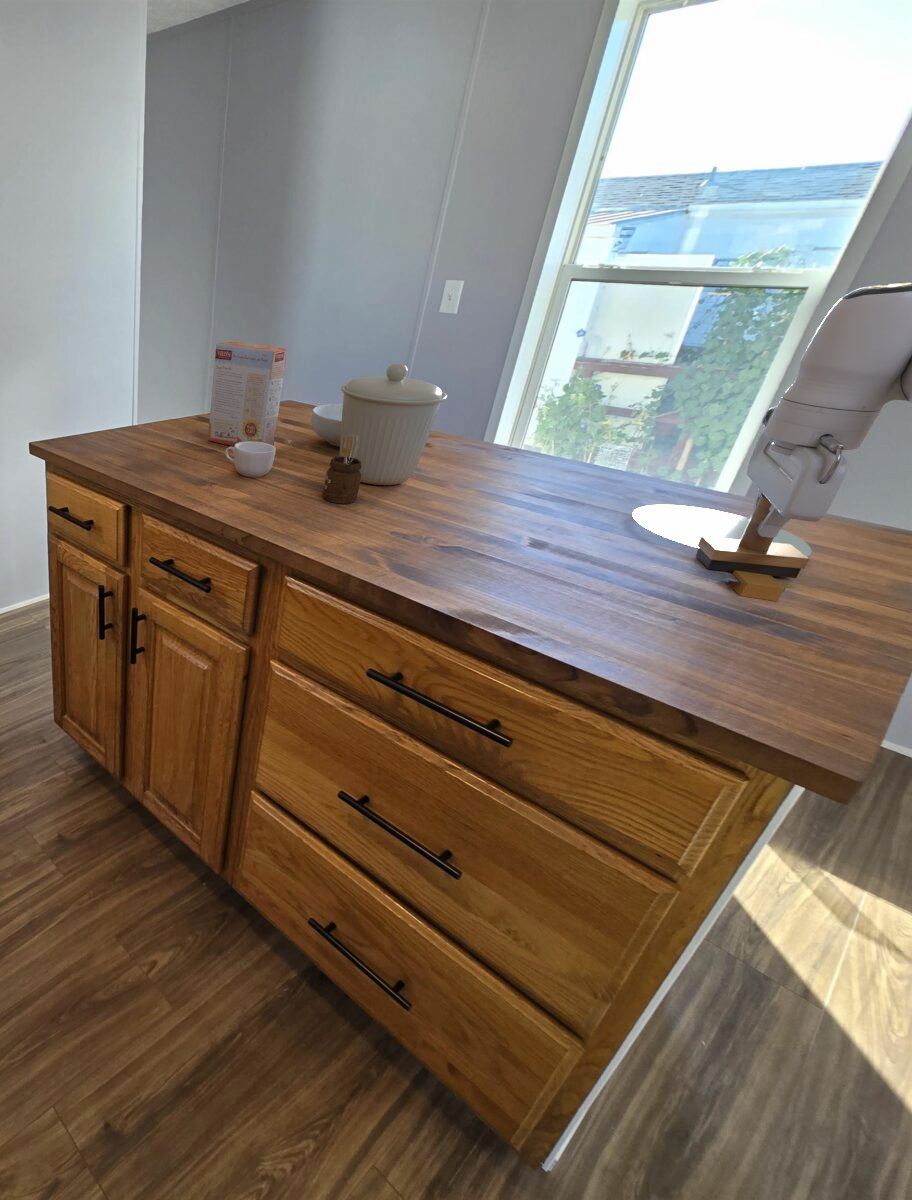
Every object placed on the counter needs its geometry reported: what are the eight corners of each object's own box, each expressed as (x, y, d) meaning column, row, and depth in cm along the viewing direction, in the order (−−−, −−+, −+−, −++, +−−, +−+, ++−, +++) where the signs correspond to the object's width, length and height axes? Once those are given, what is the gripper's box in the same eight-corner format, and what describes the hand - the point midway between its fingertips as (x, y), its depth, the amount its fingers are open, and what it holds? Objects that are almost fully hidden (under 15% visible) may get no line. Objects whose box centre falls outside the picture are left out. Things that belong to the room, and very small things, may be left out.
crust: (763, 588, 89) (770, 575, 88) (777, 601, 86) (785, 588, 85) (727, 583, 90) (734, 570, 89) (739, 596, 87) (747, 582, 86)
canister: (337, 457, 138) (357, 352, 127) (429, 472, 130) (458, 361, 120) (315, 482, 124) (335, 366, 114) (416, 500, 116) (448, 377, 106)
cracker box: (274, 448, 143) (289, 347, 133) (259, 454, 139) (273, 350, 129) (222, 436, 151) (231, 339, 141) (206, 441, 147) (215, 342, 137)
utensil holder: (359, 496, 117) (373, 430, 112) (352, 507, 113) (367, 438, 107) (325, 490, 120) (337, 425, 114) (318, 501, 115) (330, 433, 109)
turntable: (783, 530, 107) (788, 521, 106) (828, 583, 90) (834, 574, 89) (622, 504, 116) (625, 496, 116) (635, 548, 100) (639, 539, 99)
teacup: (278, 473, 128) (282, 446, 126) (261, 483, 123) (265, 455, 120) (232, 463, 133) (235, 437, 131) (214, 472, 128) (217, 445, 125)
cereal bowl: (292, 442, 148) (297, 410, 144) (332, 429, 158) (338, 399, 154) (361, 459, 137) (368, 426, 133) (399, 445, 147) (407, 413, 143)
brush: (706, 569, 90) (737, 500, 85) (692, 555, 94) (721, 488, 89) (799, 579, 87) (836, 508, 82) (780, 563, 91) (815, 495, 86)
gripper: (884, 451, 72) (815, 564, 79) (824, 413, 87) (771, 510, 94) (808, 442, 75) (748, 552, 81) (763, 407, 90) (716, 502, 97)
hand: (760, 529), depth 88 cm, fingers closed on brush, 3 cm apart
